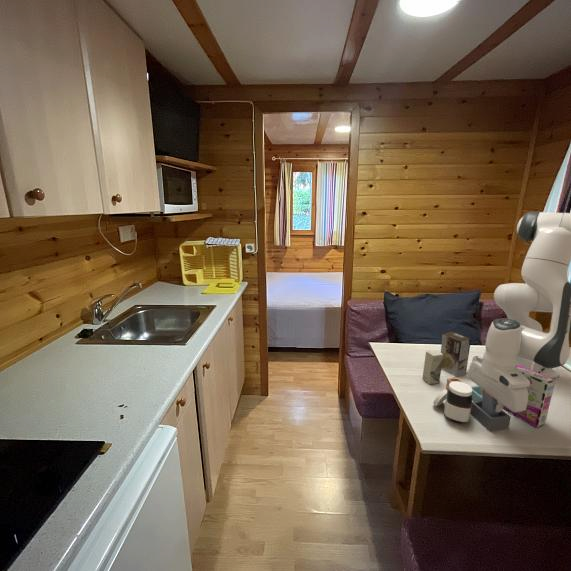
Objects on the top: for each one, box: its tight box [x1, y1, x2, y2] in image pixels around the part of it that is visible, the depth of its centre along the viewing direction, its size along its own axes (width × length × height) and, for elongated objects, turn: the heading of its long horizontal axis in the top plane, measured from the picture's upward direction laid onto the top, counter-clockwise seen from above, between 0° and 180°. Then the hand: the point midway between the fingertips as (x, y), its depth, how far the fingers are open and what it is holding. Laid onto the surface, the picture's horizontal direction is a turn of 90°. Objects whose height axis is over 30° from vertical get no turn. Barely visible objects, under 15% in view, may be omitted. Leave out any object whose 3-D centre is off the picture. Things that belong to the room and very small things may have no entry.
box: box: [422, 349, 443, 385], centre depth 126 cm, size 5×4×13 cm
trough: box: [470, 385, 482, 402], centre depth 114 cm, size 8×8×4 cm
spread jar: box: [432, 381, 473, 424], centre depth 106 cm, size 12×11×12 cm
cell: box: [481, 390, 499, 417], centre depth 102 cm, size 4×4×10 cm
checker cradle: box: [470, 400, 512, 432], centre depth 104 cm, size 7×10×4 cm
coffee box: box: [440, 331, 472, 377], centre depth 133 cm, size 9×6×16 cm
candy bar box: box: [502, 365, 556, 428], centre depth 104 cm, size 11×5×16 cm, turn 24°
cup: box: [445, 377, 465, 390], centre depth 119 cm, size 4×4×5 cm
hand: (491, 405), depth 103 cm, fingers closed on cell, 3 cm apart
